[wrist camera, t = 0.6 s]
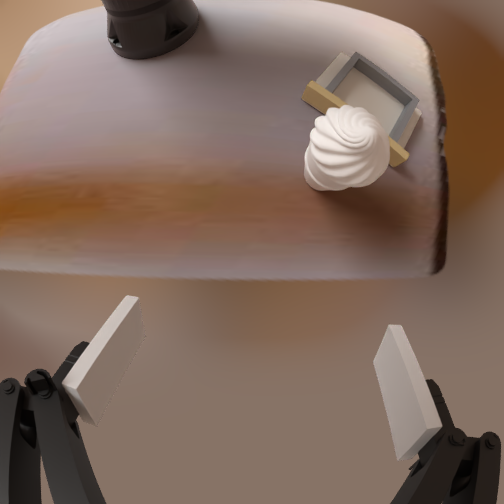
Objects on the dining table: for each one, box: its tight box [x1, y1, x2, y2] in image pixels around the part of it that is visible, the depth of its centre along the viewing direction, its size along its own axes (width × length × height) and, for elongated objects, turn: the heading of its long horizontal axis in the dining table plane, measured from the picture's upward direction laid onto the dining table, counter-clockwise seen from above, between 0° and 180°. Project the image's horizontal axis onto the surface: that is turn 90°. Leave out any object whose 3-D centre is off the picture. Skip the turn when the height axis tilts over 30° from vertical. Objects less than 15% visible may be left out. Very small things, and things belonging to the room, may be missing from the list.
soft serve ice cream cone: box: [304, 105, 390, 191], centre depth 29 cm, size 8×8×16 cm
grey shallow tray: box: [302, 52, 422, 167], centre depth 36 cm, size 13×16×4 cm
